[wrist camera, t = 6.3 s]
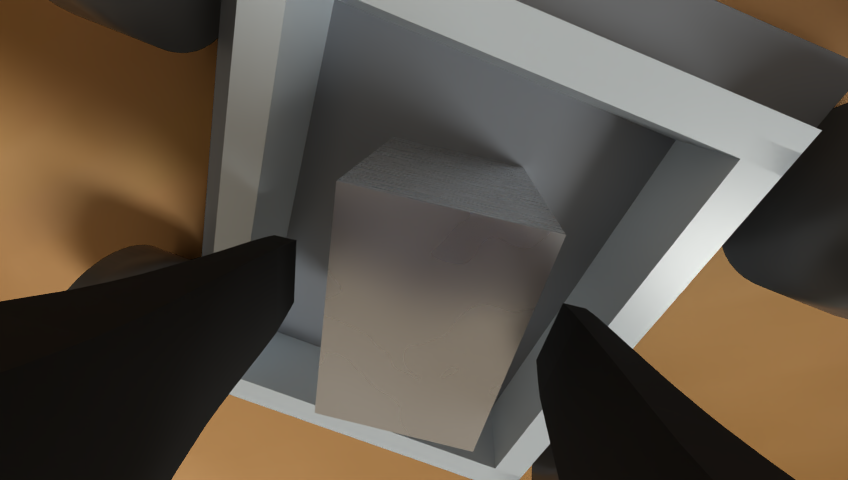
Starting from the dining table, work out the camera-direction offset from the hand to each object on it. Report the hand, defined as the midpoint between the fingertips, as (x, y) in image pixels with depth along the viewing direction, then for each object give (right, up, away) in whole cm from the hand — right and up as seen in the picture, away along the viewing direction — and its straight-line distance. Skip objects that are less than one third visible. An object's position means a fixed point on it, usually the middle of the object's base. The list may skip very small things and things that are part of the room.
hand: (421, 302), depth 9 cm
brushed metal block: (+1, +2, +2) cm, 3 cm away
